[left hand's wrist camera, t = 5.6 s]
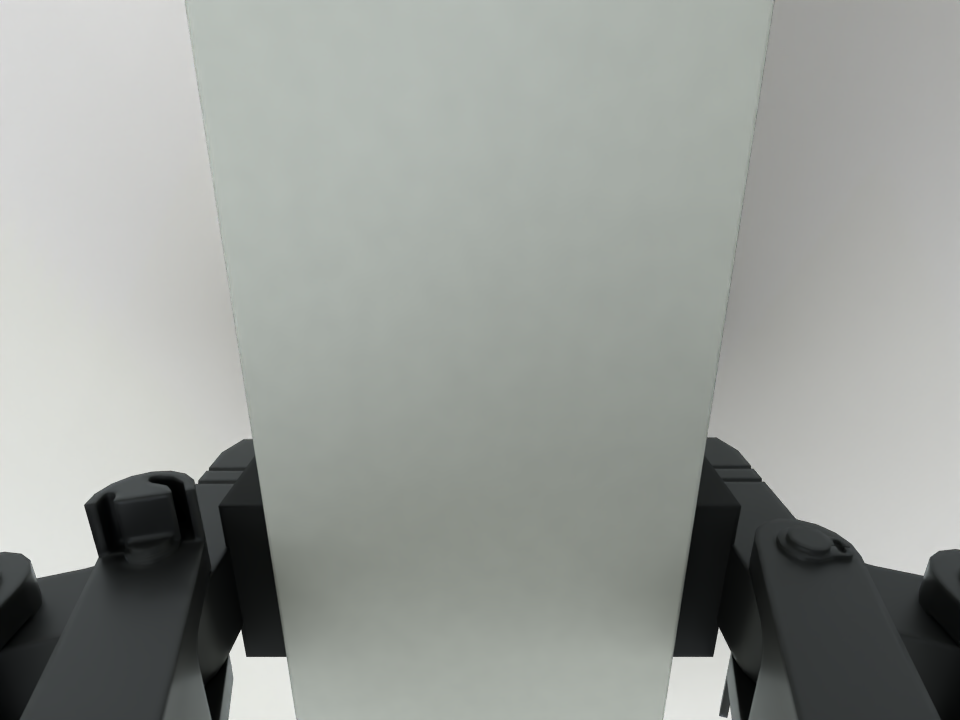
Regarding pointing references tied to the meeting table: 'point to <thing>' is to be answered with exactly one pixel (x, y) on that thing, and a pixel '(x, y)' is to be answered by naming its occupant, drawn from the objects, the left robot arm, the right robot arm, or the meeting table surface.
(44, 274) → the meeting table surface
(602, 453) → the bar
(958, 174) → the meeting table surface
